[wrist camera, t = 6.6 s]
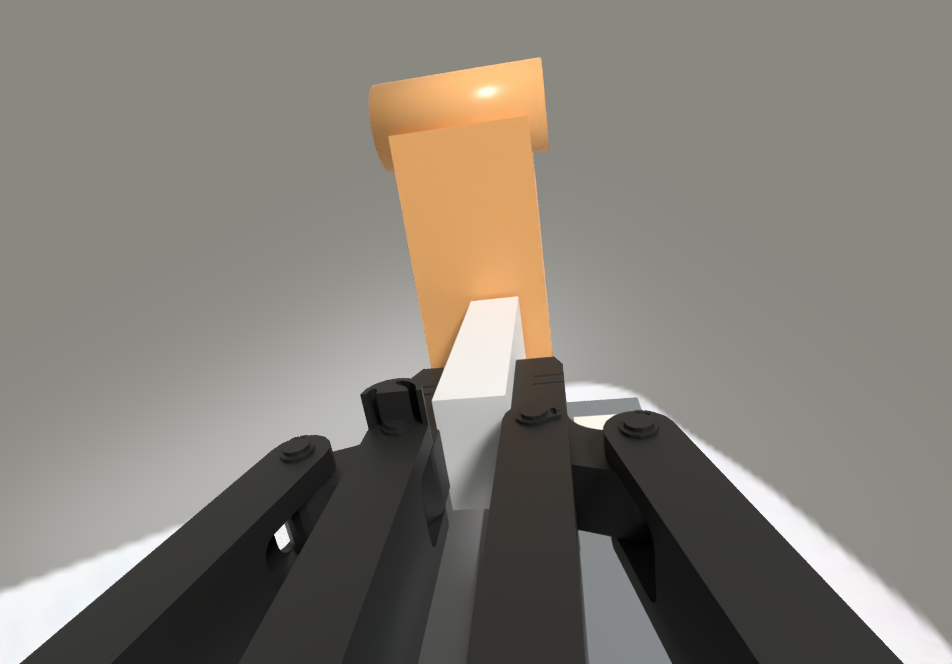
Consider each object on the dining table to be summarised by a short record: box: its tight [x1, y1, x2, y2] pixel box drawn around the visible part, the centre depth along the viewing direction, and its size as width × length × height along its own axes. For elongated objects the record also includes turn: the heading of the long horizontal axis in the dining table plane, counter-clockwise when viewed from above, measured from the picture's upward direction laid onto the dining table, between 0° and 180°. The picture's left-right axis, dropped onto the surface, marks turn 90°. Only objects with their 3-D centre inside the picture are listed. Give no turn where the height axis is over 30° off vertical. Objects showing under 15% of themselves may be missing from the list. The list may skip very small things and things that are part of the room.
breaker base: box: [418, 397, 672, 664], centre depth 17 cm, size 11×20×3 cm, turn 174°
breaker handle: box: [369, 57, 553, 368], centre depth 19 cm, size 5×3×14 cm, turn 84°
